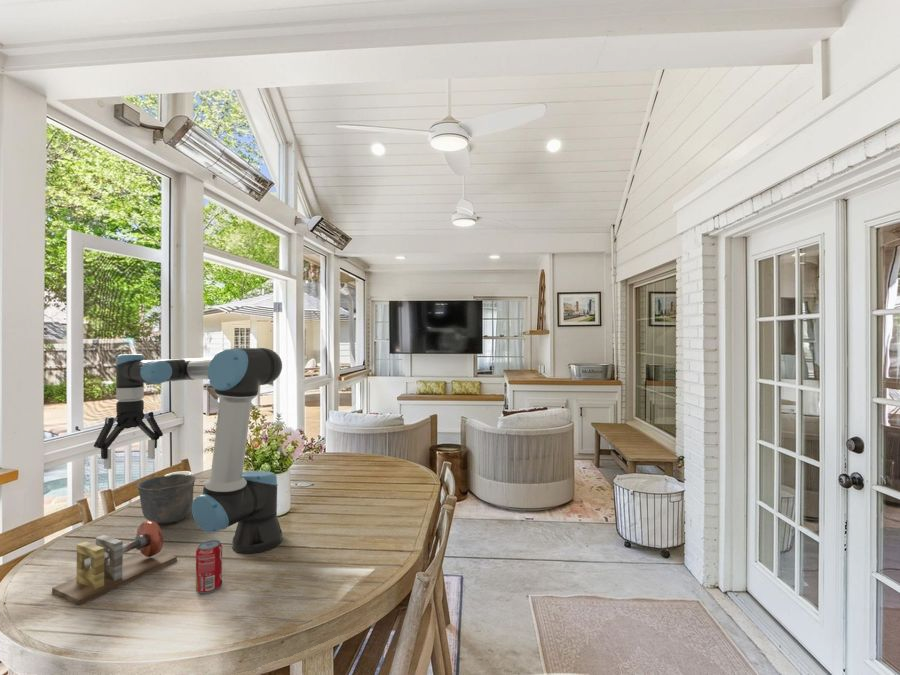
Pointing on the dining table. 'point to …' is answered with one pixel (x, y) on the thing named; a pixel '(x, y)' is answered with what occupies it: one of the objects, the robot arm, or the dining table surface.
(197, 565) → the soda can
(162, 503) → the grey plant pot
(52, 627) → the dining table surface
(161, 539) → the red knob rod
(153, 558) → the board
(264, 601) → the dining table surface
